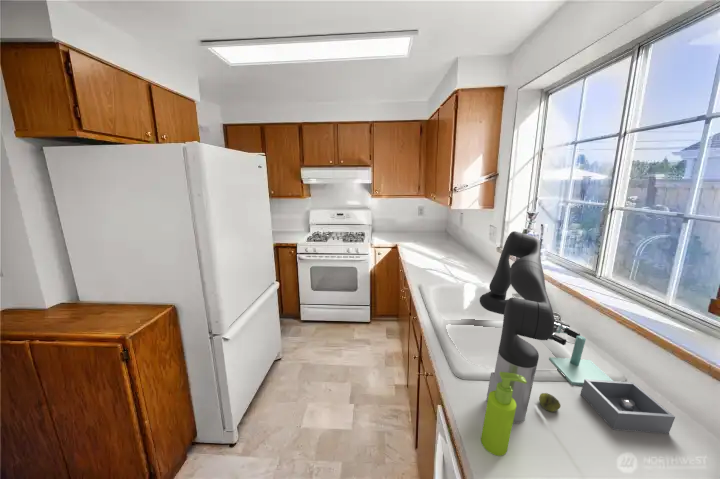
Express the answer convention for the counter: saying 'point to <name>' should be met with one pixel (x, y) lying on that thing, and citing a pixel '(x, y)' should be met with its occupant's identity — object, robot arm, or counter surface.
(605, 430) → the counter surface
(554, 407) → the lime
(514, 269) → the robot arm
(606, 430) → the counter surface
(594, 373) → the lid
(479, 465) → the counter surface
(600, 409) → the tub
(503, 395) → the soap dispenser
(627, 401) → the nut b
